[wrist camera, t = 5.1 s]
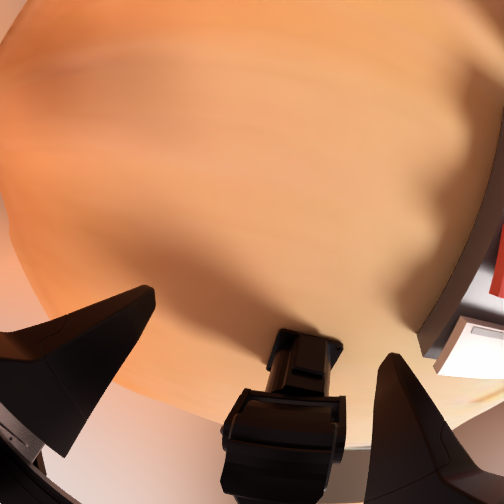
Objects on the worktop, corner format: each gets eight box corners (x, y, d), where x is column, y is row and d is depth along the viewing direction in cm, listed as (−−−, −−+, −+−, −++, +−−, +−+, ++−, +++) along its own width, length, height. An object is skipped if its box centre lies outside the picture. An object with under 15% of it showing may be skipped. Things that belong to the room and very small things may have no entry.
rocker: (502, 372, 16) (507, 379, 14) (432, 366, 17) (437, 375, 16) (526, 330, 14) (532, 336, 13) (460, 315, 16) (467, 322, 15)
